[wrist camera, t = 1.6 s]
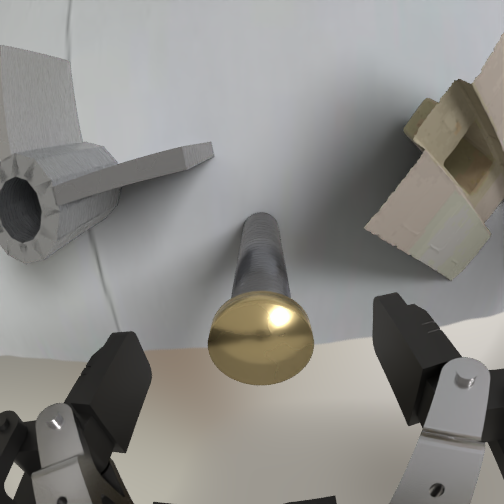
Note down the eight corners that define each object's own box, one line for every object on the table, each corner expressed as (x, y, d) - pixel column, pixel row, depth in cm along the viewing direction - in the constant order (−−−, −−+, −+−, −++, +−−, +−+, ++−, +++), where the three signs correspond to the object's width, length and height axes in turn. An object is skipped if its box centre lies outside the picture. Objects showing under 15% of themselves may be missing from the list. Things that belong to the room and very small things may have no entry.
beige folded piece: (482, 88, 20) (442, -26, 10) (554, 143, 15) (575, 38, 5) (390, 215, 28) (297, 174, 17) (452, 281, 23) (406, 291, 12)
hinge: (186, 16, 16) (150, -35, 9) (221, 192, 21) (200, 227, 13) (36, 79, 17) (-34, 73, 10) (67, 228, 22) (5, 269, 15)
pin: (281, 201, 21) (308, 294, 9) (289, 248, 22) (317, 377, 10) (231, 209, 21) (195, 311, 9) (241, 256, 22) (222, 389, 11)
